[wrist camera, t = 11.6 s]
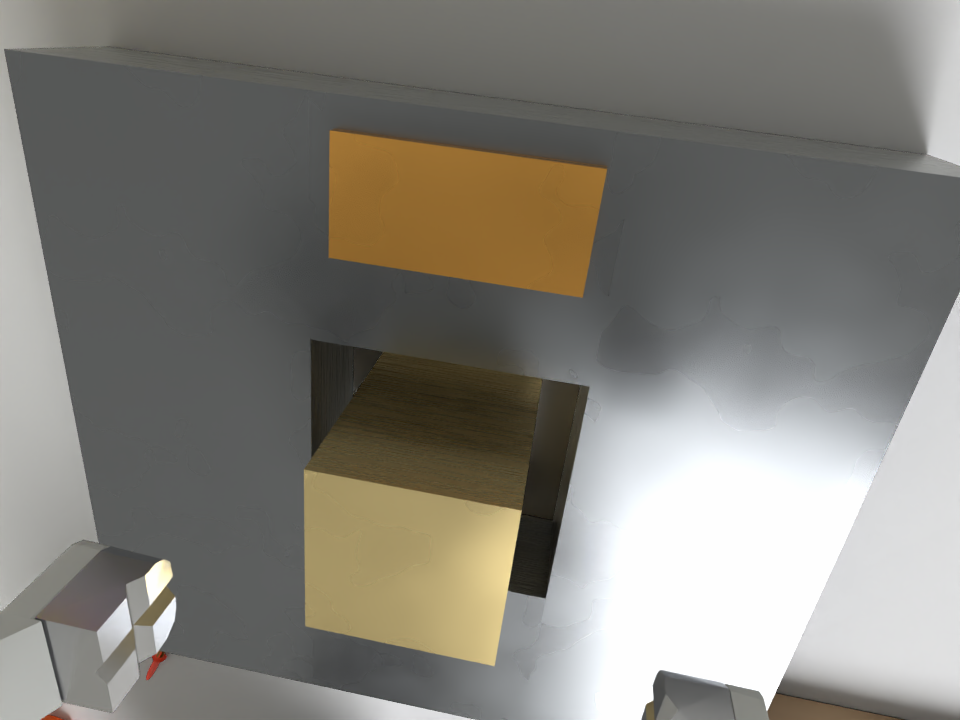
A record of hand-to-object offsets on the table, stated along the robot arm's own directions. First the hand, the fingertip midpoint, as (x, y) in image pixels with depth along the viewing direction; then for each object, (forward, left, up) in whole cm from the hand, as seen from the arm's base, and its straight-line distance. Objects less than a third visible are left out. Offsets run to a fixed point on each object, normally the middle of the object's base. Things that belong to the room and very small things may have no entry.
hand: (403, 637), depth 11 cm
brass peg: (0, +1, -8) cm, 8 cm away
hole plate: (+1, 0, -8) cm, 8 cm away
